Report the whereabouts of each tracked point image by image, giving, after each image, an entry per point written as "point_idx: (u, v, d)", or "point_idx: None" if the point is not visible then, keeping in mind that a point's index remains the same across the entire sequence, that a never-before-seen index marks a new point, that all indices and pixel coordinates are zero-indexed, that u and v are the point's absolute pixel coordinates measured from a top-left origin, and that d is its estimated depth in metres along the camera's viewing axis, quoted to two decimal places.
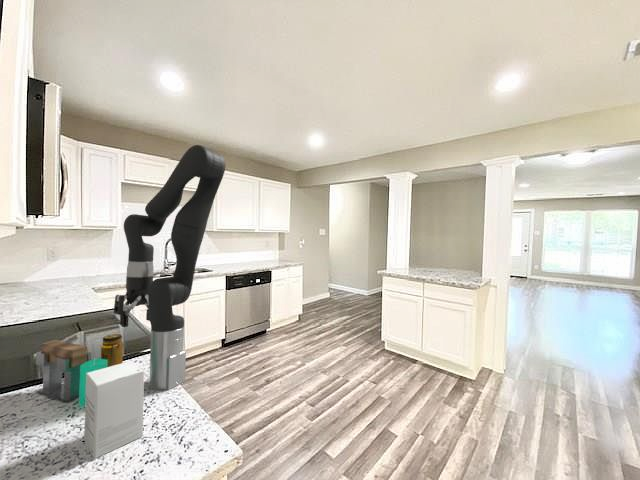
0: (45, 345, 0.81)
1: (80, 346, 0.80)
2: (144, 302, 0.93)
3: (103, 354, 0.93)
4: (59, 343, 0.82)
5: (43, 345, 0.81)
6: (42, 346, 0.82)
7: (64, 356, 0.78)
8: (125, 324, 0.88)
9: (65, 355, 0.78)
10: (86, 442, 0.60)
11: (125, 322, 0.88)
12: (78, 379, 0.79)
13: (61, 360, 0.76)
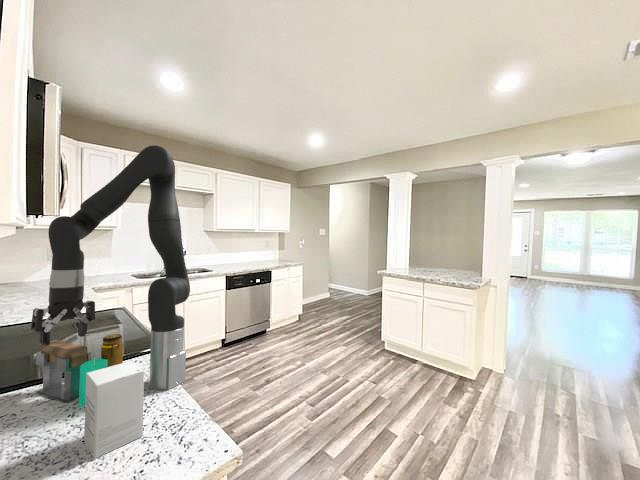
0: None
1: (80, 346, 0.80)
2: (73, 316, 0.82)
3: (103, 354, 0.93)
4: (59, 343, 0.82)
5: (43, 345, 0.81)
6: (42, 346, 0.82)
7: (64, 356, 0.78)
8: (45, 342, 0.77)
9: (65, 355, 0.78)
10: (86, 442, 0.60)
11: (46, 340, 0.76)
12: (78, 379, 0.79)
13: (61, 360, 0.76)
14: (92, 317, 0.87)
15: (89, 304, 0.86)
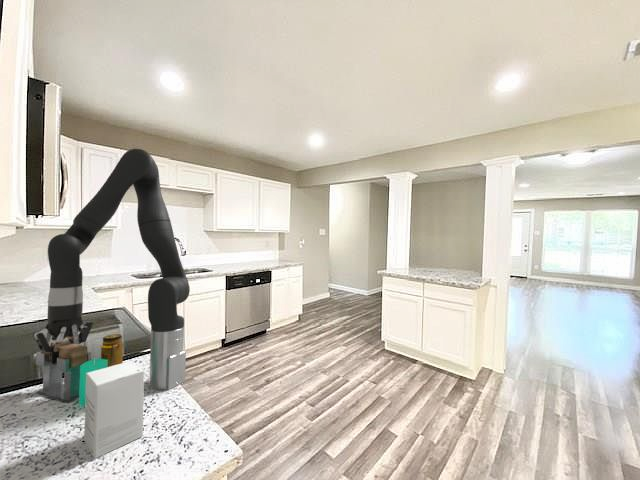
0: None
1: (80, 346, 0.80)
2: (68, 333, 0.81)
3: (103, 354, 0.93)
4: None
5: None
6: None
7: (64, 356, 0.78)
8: (55, 361, 0.78)
9: (65, 355, 0.78)
10: (86, 442, 0.60)
11: (55, 359, 0.78)
12: (78, 379, 0.79)
13: (61, 360, 0.76)
14: (83, 339, 0.84)
15: (87, 324, 0.86)
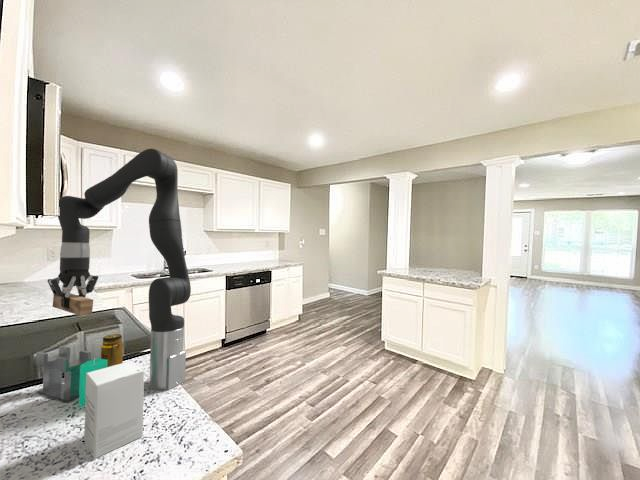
0: None
1: (87, 299, 0.93)
2: (77, 283, 0.94)
3: (103, 354, 0.93)
4: (69, 295, 0.95)
5: None
6: (54, 296, 0.94)
7: (73, 306, 0.91)
8: (66, 306, 0.91)
9: (74, 304, 0.90)
10: (86, 442, 0.60)
11: (66, 304, 0.91)
12: (78, 379, 0.79)
13: (61, 360, 0.76)
14: (90, 289, 0.97)
15: (93, 277, 0.98)
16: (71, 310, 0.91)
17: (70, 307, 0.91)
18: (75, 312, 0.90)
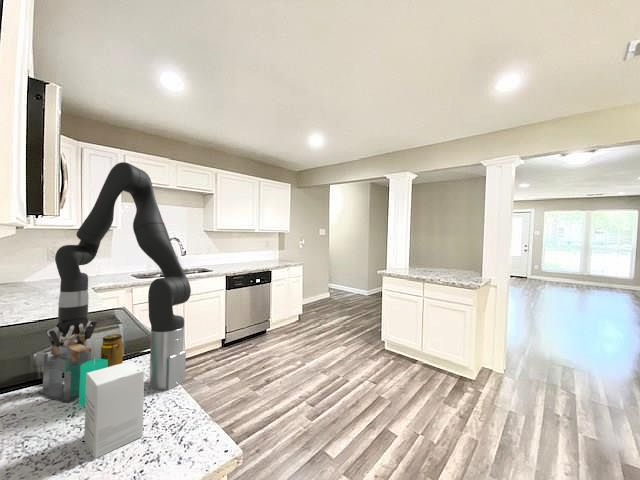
0: None
1: (85, 347, 0.92)
2: (76, 331, 0.93)
3: (103, 354, 0.93)
4: None
5: None
6: None
7: (71, 355, 0.90)
8: None
9: (72, 354, 0.90)
10: (86, 442, 0.60)
11: None
12: (78, 379, 0.79)
13: (61, 360, 0.76)
14: (88, 336, 0.97)
15: (92, 323, 0.98)
16: (69, 360, 0.91)
17: None
18: None
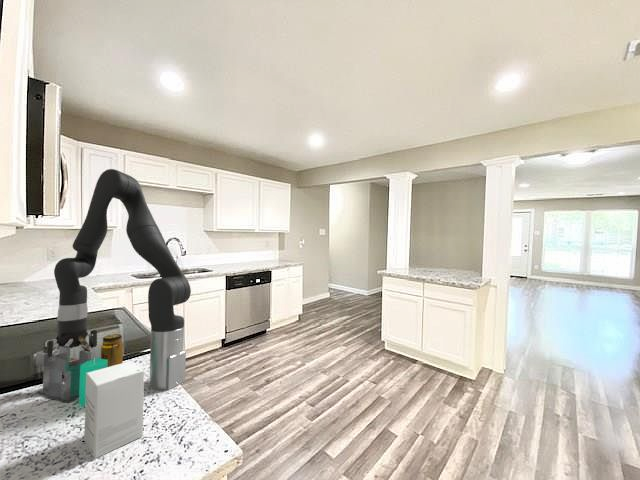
0: None
1: None
2: (78, 344, 0.94)
3: (103, 354, 0.93)
4: None
5: None
6: None
7: None
8: None
9: None
10: (86, 442, 0.60)
11: None
12: (78, 379, 0.79)
13: (61, 360, 0.76)
14: (94, 344, 0.98)
15: (92, 332, 0.98)
16: None
17: None
18: None
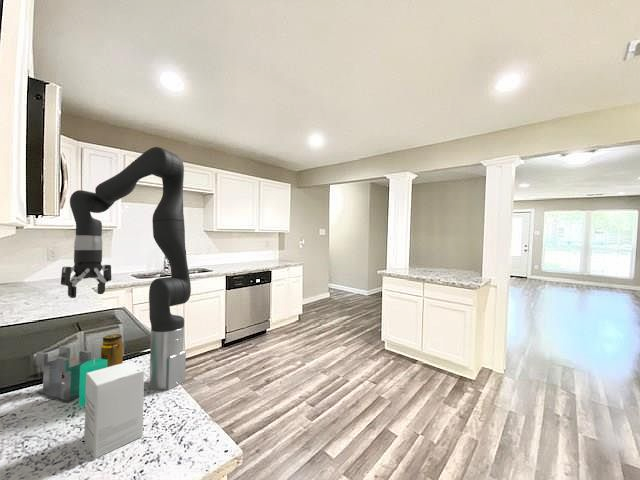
0: None
1: None
2: (93, 275, 0.97)
3: (103, 354, 0.93)
4: None
5: None
6: None
7: None
8: (73, 295, 0.91)
9: None
10: (86, 442, 0.60)
11: (73, 293, 0.91)
12: (78, 379, 0.79)
13: (61, 360, 0.76)
14: (109, 278, 1.02)
15: (106, 267, 1.01)
16: None
17: None
18: None
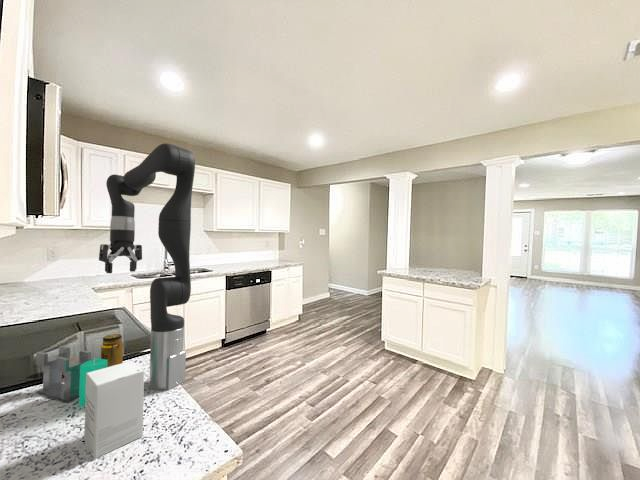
0: None
1: None
2: (127, 254, 1.05)
3: (103, 354, 0.93)
4: None
5: None
6: None
7: None
8: (109, 270, 0.99)
9: None
10: (86, 442, 0.60)
11: (109, 269, 0.99)
12: (78, 379, 0.79)
13: (61, 360, 0.76)
14: (140, 257, 1.09)
15: (138, 247, 1.09)
16: None
17: None
18: None
